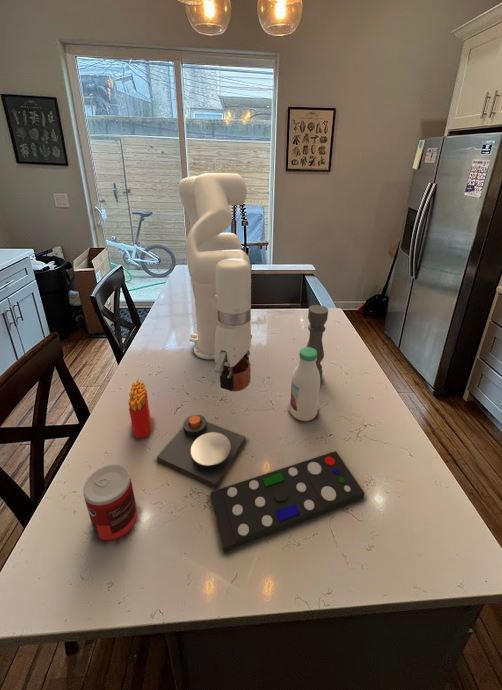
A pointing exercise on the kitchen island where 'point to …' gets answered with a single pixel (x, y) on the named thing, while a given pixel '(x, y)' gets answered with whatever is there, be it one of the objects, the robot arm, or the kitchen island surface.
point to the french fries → (139, 410)
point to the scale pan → (210, 449)
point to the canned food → (110, 502)
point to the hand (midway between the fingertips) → (235, 378)
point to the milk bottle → (305, 386)
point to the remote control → (282, 499)
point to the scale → (180, 452)
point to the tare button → (194, 421)
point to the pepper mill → (317, 332)
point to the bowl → (240, 374)
